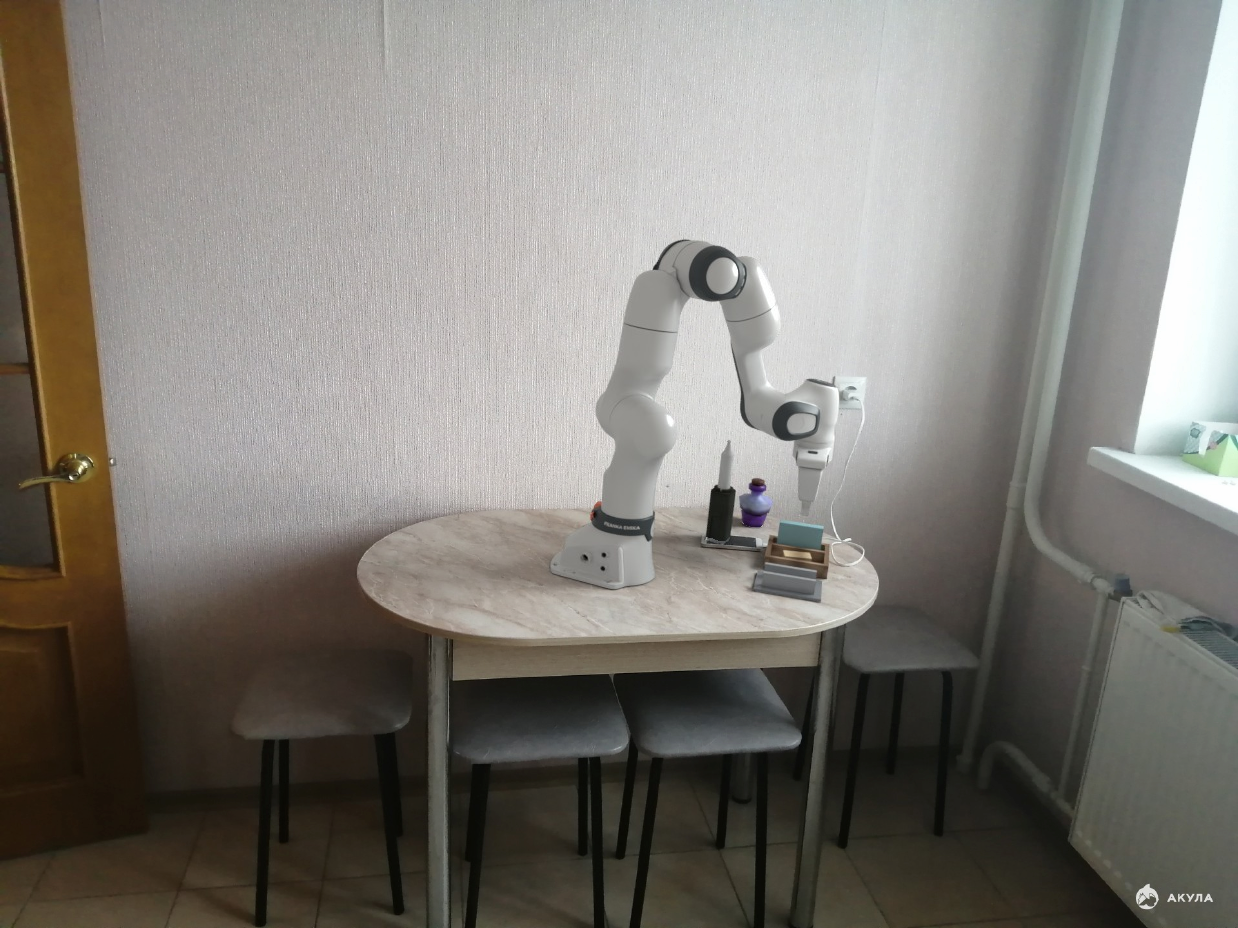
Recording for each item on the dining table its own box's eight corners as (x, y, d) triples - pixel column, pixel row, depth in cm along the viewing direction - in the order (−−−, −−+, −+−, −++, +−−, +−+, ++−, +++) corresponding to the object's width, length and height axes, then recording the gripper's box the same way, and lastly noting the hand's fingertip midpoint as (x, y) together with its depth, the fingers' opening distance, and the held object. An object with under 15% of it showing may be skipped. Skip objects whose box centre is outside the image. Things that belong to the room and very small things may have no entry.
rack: (763, 568, 198) (764, 556, 197) (768, 546, 211) (769, 534, 211) (826, 578, 195) (828, 566, 195) (827, 555, 208) (829, 544, 208)
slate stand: (753, 590, 186) (755, 575, 185) (757, 572, 196) (759, 557, 195) (820, 602, 183) (823, 586, 182) (821, 583, 193) (824, 568, 192)
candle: (731, 539, 214) (743, 440, 207) (723, 545, 210) (735, 444, 202) (711, 534, 216) (723, 435, 209) (703, 540, 212) (714, 440, 205)
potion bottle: (770, 521, 229) (776, 477, 225) (768, 532, 221) (774, 486, 217) (737, 516, 230) (743, 472, 227) (734, 527, 222) (739, 481, 219)
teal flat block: (775, 554, 207) (779, 522, 205) (775, 551, 209) (780, 519, 207) (818, 561, 205) (823, 529, 203) (818, 558, 207) (823, 526, 205)
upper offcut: (783, 563, 199) (784, 555, 198) (782, 557, 202) (783, 550, 202) (810, 566, 198) (811, 558, 198) (808, 560, 202) (809, 552, 201)
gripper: (801, 437, 210) (794, 492, 214) (796, 460, 191) (789, 520, 195) (828, 440, 209) (820, 495, 213) (826, 464, 190) (818, 524, 194)
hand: (805, 508), depth 204 cm, fingers open, 8 cm apart
